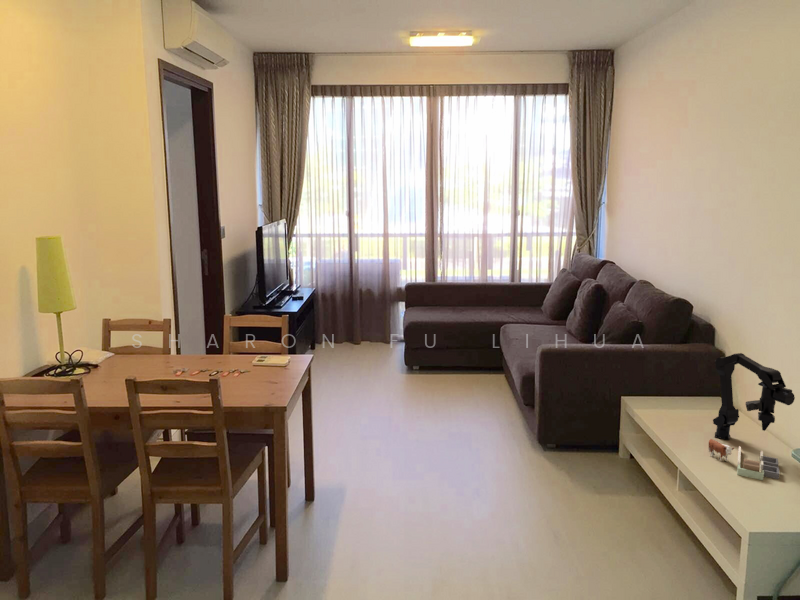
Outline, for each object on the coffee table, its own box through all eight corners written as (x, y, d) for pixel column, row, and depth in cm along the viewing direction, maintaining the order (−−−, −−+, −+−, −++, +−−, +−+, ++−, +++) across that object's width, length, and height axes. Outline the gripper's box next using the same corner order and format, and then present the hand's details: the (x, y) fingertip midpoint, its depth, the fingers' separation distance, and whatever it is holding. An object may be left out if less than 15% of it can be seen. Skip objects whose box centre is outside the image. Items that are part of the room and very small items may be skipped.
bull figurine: (726, 466, 277) (729, 448, 275) (704, 453, 290) (706, 436, 288) (735, 465, 278) (737, 447, 276) (712, 452, 291) (714, 435, 289)
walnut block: (742, 469, 274) (743, 458, 273) (758, 472, 272) (759, 461, 271) (742, 474, 269) (743, 464, 268) (758, 478, 266) (759, 467, 265)
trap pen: (738, 451, 292) (739, 445, 291) (776, 459, 285) (777, 452, 284) (737, 474, 269) (738, 468, 268) (779, 483, 262) (780, 477, 261)
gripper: (748, 388, 295) (743, 419, 298) (747, 400, 279) (743, 433, 282) (775, 392, 290) (770, 424, 293) (777, 405, 274) (772, 439, 277)
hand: (763, 430), depth 286 cm, fingers closed
